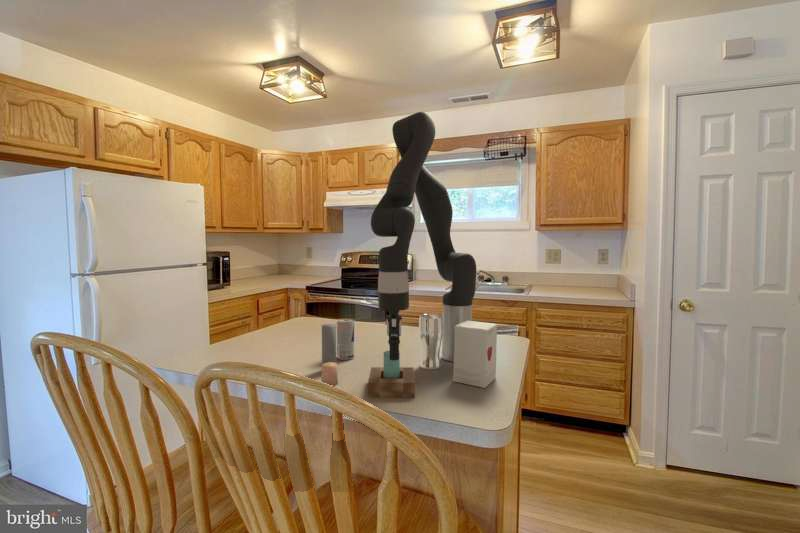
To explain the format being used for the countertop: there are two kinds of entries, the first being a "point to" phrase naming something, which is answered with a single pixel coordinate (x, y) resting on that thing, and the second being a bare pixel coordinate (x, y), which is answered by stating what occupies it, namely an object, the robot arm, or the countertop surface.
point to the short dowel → (330, 373)
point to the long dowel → (328, 343)
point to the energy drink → (345, 339)
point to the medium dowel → (391, 367)
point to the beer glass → (430, 340)
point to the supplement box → (475, 353)
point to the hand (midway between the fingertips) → (394, 354)
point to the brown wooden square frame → (391, 383)
